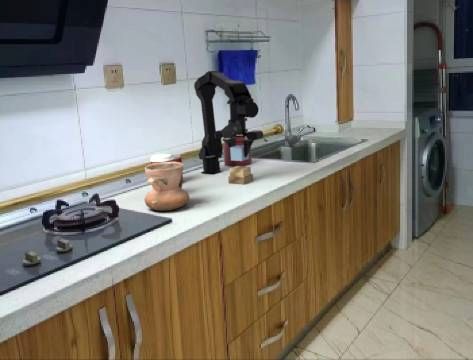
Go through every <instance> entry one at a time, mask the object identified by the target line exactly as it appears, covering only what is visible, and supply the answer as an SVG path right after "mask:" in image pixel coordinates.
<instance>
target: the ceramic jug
mask: <svg viewBox="0 0 473 360" xmlns="http://www.w3.org/2000/svg"><path fill="white" fill-rule="evenodd" d="M144 172H145V176H146V177H147V179H148V180H147V181H146V184H147V185H150V186H151V187H152V189H151V191H149V192H148V193H146V195H145V197H144V203H145V205H146V207H148V208H149V209H152V210H154V211H161V212H166V211H172V210H177V209H179V208H182V207H184V206H185V205H186V204H188V202H189V200H190V195H189V193H188V192H187V191H186V190H185V189H183V182H184V173H183V172H184V164H183V162H182V163H179V162H162V163H155V164H151V163H150V164H148V165H146V166H145V167H144Z"/></svg>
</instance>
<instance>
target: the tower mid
mask: <svg viewBox="0 0 473 360" xmlns="http://www.w3.org/2000/svg"><path fill="white" fill-rule="evenodd" d="M251 170H252V168H251V166H247V165H244V166H233V167H231V168H229V176H230V177H242V178H244V177H246V176H248V175H250V174H252V171H251Z"/></svg>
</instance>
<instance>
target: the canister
mask: <svg viewBox="0 0 473 360" xmlns="http://www.w3.org/2000/svg"><path fill="white" fill-rule="evenodd" d="M235 138H236V146H237V145H240V146H244V143H243V142H242V140H245V137H235ZM222 147H223V163H224V166H227V167H236V166H248V165H251V164H252V162H253V161H252V160H253V159H252V157H253V156H252V146H251V147H250V150H249V159H246V160H244V161H233V160H231V151H230V148H229V146H228V144H227V143H226V142H225V141H223V145H222Z"/></svg>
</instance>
